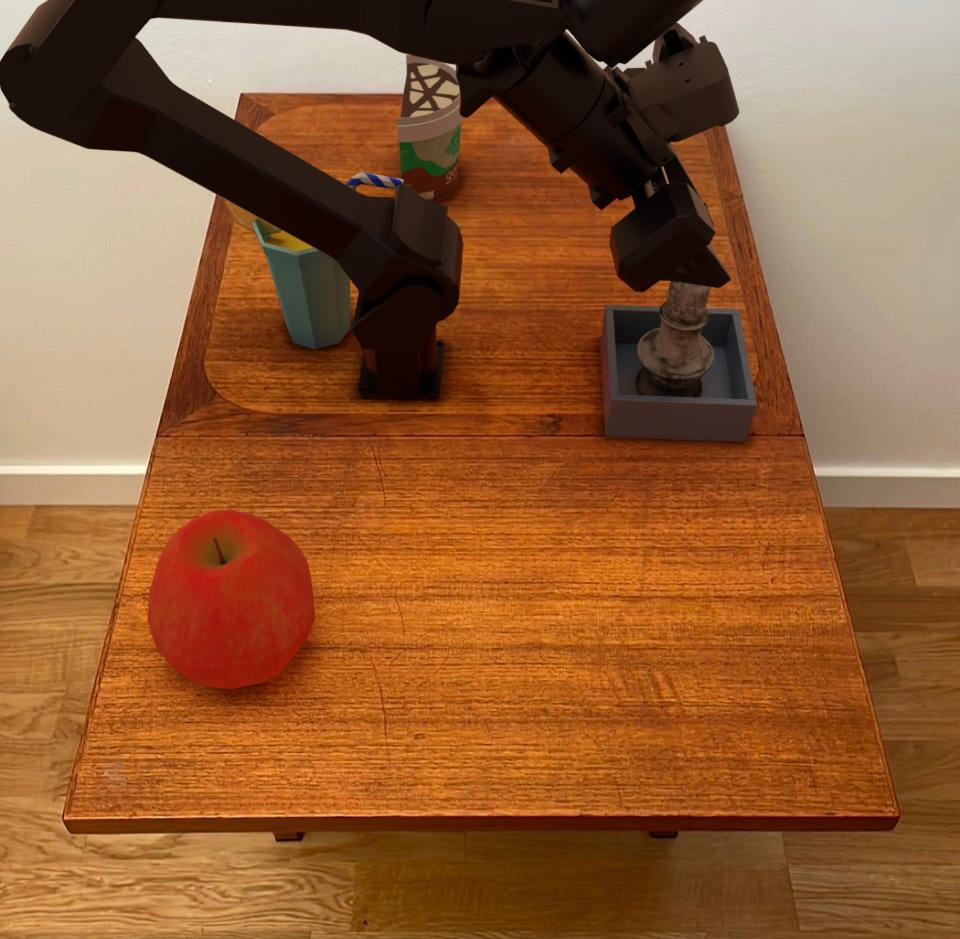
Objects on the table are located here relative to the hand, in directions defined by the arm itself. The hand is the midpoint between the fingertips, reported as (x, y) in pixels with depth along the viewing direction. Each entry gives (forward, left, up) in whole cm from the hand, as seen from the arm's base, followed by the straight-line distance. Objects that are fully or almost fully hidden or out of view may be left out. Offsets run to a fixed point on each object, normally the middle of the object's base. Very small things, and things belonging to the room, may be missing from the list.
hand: (710, 241), depth 71 cm
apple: (-27, +31, -13) cm, 43 cm away
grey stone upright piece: (-3, +1, -12) cm, 13 cm away
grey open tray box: (-3, +1, -13) cm, 13 cm away
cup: (+3, +29, -13) cm, 32 cm away
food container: (+25, +22, -13) cm, 36 cm away
